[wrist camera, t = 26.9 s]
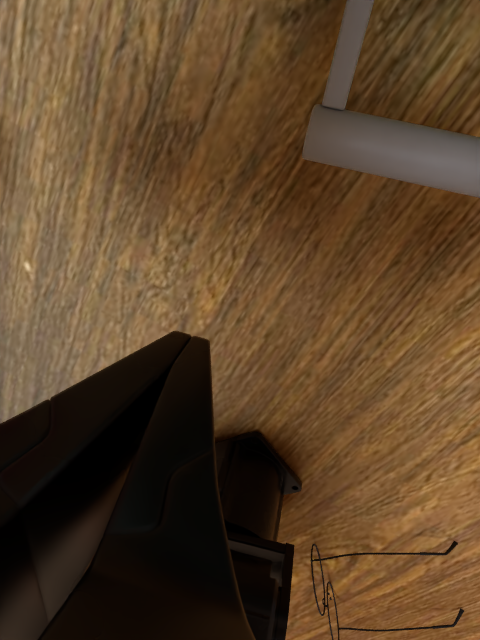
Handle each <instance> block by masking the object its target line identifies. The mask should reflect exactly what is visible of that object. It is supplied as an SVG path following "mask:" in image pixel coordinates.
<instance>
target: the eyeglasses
mask: <svg viewBox="0 0 480 640" xmlns="http://www.w3.org/2000/svg"><path fill="white" fill-rule="evenodd" d="M457 544H458V543H457V542H456V541H454V542H453V543H452V545H451V546H450V548H449V549H448V550H447V551H446V552H445V553H426V552H420V553H355V554H346V555H339V556H334V557H329V558H323V559H320V555H319V552H318V549H317V546H316V545H315V544H313V545H312V549H311V568H312V579H313V587H314V593H315V598H316V603H317V607H318V610H319V613H320V614H321V612H320V609H319V606H318V602H317V597H316V592H315V585H314V577H313V565H312V562H313V561H320V565H321V561H322V560H327V559H332V558H338V557H343V556H352V555H367V554H387V555H447V554H448V553H449V552H450V551H451V550H452V549H453V548H454V547H455V546H456V545H457ZM314 545H315V547H316V549H317V552H318V556H319V559H314V560H312V551H313V546H314ZM321 571H322V578H323V588H324V598H323V599H322V601H323V600H324V603H323V605H324V612H323V614H321V616H323V615H324V613H325V607H327V608H328V617H329V625H330V631H331V636H332V640H333V635H332V630H331V624H330V616H329V607H328V600H329V599H328V595H330V593H328V583H329V584H330V586H331V583H330V582H328V583H327V605H325V587H324V577H323V570H322V565H321ZM331 589H332V586H331ZM332 593H333V589H332ZM333 597H334V593H333ZM330 600H332V598H331V597H330ZM330 600H329V601H330ZM334 602H335V597H334ZM335 609H336V616H337V608H336V602H335ZM463 612H464V610H462V609H461V608H460V611H459V613H458V616H457V618H456V620H455V622H454V624H452V625H441V626H432V627H419V628H404V629H389V630H370V629H356V628H339V625H338V616H337V625H338V640H339V630H341V629H349V630H361V631H399V630H414V629H429V628H433V629H435V628H447V627H454V626H455V625H456V624H457V622H458V620H459V619H460V617H461V615H462V614H463Z"/></svg>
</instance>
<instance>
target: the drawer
mask: <svg viewBox="0 0 480 640" xmlns="http://www.w3.org/2000/svg"><path fill="white" fill-rule="evenodd" d="M373 4H374V0H347V2H346V6H345V10H344V14H343V18H342V22H341V27H340V31H339V35H338V39H337V43H336V47H335V51H334V56H333V60H332V64H331V68H330V72H329V76H328V80H327V85H326V89H325V93H324V97H323V101H322V105H321V104H315V106H314V107H313V110H312V113H311V117H310V121H309V124H308V128H307V133H306V137H305V141H304V146H303V151H302V158H303V159H305V160H309V161H314V162H319V163H323V164H328V165H332V166H337V167H341V168H346V169H351V170H355V171H360V172H364V173H369V174H373V175H378V176H382V177H387V178H392V179H396V180H401V181H405V182H410V183H414V184H419V185H423V186H428V187H433V188H437V189H442V190H446V191H451V192H455V193H460V194H465V195H469V196H474V197H478V198H480V137H476V136H472V135H467V134H462V133H457V132H452V131H447V130H442V129H438V128H433V127H428V126H423V125H418V124H413V123H408V122H403V121H399V120H394V119H389V118H384V117H379V116H374V115H369V114H365V113H360V112H355V111H350V110H345V106H346V103H347V99H348V95H349V92H350V88H351V84H352V81H353V77H354V73H355V70H356V66H357V62H358V59H359V55H360V51H361V48H362V44H363V40H364V37H365V33H366V29H367V26H368V22H369V18H370V15H371V11H372V7H373Z"/></svg>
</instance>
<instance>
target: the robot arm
mask: <svg viewBox="0 0 480 640" xmlns="http://www.w3.org/2000/svg"><path fill="white" fill-rule="evenodd" d="M301 489H302V483H301V481H300V480H299V479H298V478H297V476H296V475H295V474H294V473H293V472H292V470H291V469H290V468H289V467H288V466H287V465H286V463H285V462H284V461H283V460H282V459H281V457H280V456H279V455H278V454H277V453H276V451H275V450H274V449H273V448H272V447H271V445H270V444H269V443H268V442H267V441H266V439H265V438H264V437H263V436H262V435H261V434H260V433H258V432H251V433H247V434H244V435H241V436H237V437H234V438H231V439H228V440H224V441H221V442H218V443H215V434H214V414H213V394H212V375H211V355H210V341H209V340H208V339H204V338H201V337H197V336H193V337H191V335H190V334H186V333H183V332H179V331H173V332H171V333H169V334H167V335H165V336H164V337H162V338H160V339H158V340H156V341H154V342H152V343H151V344H149V345H147V346H145V347H143V348H141V349H140V350H138V351H136V352H134V353H132V354H130V355H129V356H127V357H125V358H123V359H121V360H119V361H117V362H116V363H114V364H112V365H110V366H108V367H106V368H105V369H103V370H101V371H99V372H97V373H95V374H93V375H92V376H90V377H88V378H86V379H84V380H82V381H81V382H79V383H77V384H75V385H73V386H71V387H70V388H68V389H66V390H64V391H62V392H60V393H58V394H57V395H55V396H53V397H51V399H50V400H45V401H43V402H42V403H40V404H38V405H36V406H34V407H32V408H31V409H29V410H27V411H25V412H23V413H21V414H19V415H17V416H15V417H13V418H11V419H9V420H7V421H5V422H3V423H1V424H0V640H285V636H286V629H287V621H288V613H289V603H290V592H291V580H292V568H293V556H294V545H293V544H289V543H286V544H282V543H279V542H277V536H278V529H279V523H280V516H281V510H282V503H283V497H284V495H286V494H290V493H295V492H299V491H301ZM93 556H94V557H93ZM92 558H93V559H92ZM91 560H92V561H91ZM90 562H91V563H90ZM89 564H90V565H89ZM88 565H89V567H88ZM87 567H88V569H87ZM86 569H87V570H86ZM85 571H86V572H85ZM82 576H83V577H82Z"/></svg>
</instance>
